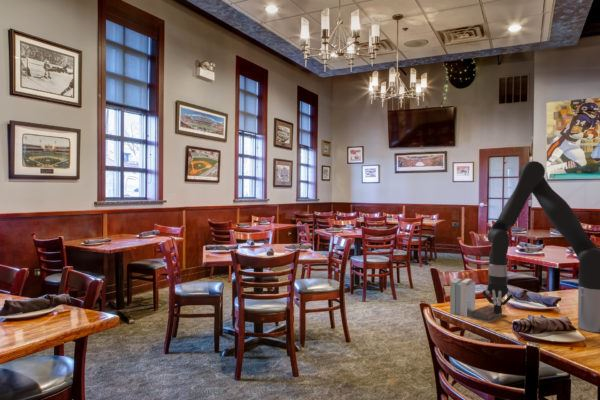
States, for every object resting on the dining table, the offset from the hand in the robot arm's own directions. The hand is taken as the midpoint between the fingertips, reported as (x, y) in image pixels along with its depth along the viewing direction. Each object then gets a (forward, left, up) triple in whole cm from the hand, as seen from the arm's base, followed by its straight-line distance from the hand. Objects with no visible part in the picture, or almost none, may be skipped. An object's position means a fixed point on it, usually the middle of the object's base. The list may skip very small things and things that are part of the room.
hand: (497, 313), depth 182 cm
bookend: (+15, -1, -3) cm, 15 cm away
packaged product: (+5, -1, -4) cm, 6 cm away
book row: (+16, -1, -2) cm, 16 cm away
